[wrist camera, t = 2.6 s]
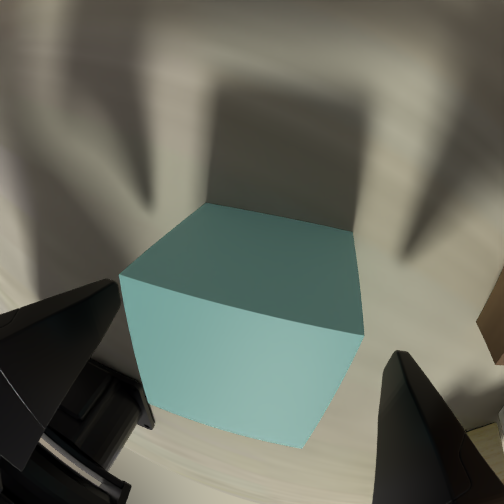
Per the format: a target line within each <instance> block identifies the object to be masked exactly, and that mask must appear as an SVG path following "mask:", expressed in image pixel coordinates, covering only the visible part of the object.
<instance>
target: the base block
mask: <svg viewBox="0 0 504 504" xmlns="http://www.w3.org/2000/svg"><path fill="white" fill-rule="evenodd" d="M476 323H477V325H478V327H479V329H480V331H481V333H482V335H483V338H484V340H485V342H486V344H487V347H488V349H489V351H490V353H491V356H492V358H493V361H494V363H495V365H504V267H503V270H502V272H501V274H500V276H499V278H498V281H497V283H496V285H495V287H494V289H493V291H492V293H491V295H490V297H489V299H488V301H487V303H486V305H485V306H484V308H483V310H482V312H481V314H480V315H479V317H478V319H477V321H476Z"/></svg>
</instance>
